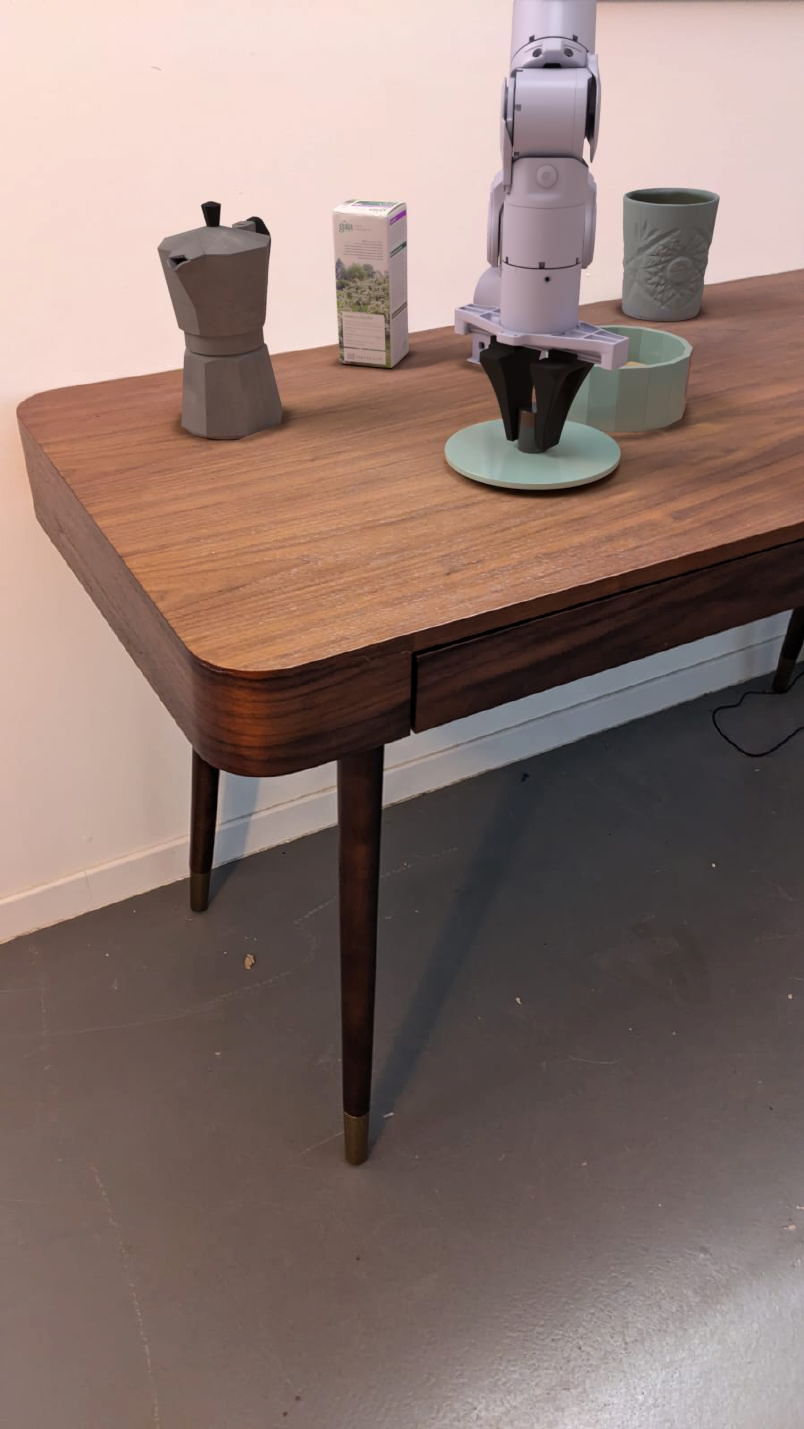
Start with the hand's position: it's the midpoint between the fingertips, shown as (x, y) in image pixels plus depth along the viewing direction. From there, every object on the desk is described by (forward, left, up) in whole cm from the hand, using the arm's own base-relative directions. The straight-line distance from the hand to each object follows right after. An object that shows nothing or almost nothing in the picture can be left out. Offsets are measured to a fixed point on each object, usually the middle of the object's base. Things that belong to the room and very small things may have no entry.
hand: (532, 441), depth 88 cm
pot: (-2, +15, -2) cm, 15 cm away
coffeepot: (-27, -7, -2) cm, 28 cm away
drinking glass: (-16, +46, -2) cm, 49 cm away
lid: (0, 0, -1) cm, 1 cm away
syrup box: (-29, +13, -2) cm, 32 cm away
